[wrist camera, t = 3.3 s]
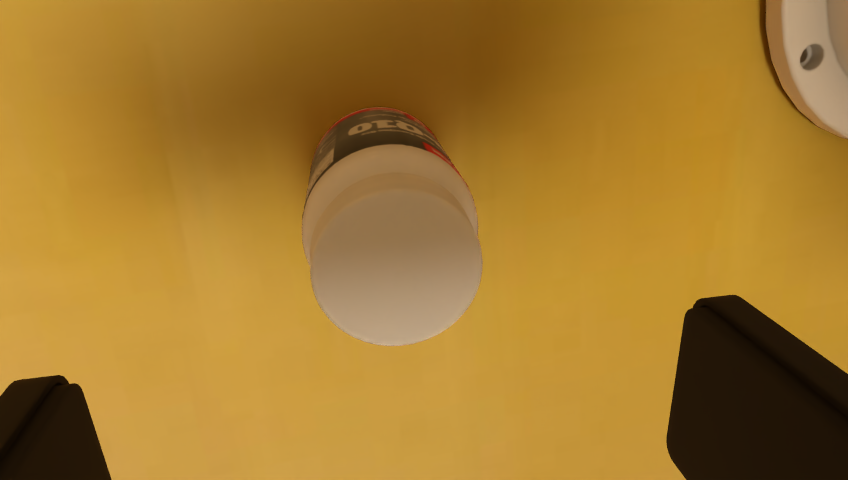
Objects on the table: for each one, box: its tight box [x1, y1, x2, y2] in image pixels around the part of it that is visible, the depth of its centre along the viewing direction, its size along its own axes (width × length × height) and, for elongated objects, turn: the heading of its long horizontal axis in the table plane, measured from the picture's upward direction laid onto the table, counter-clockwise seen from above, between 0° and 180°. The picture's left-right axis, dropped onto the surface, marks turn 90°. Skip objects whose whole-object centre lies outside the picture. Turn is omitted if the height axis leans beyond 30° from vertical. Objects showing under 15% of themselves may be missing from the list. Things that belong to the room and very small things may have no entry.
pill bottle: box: [302, 107, 482, 346], centre depth 17 cm, size 5×5×8 cm
